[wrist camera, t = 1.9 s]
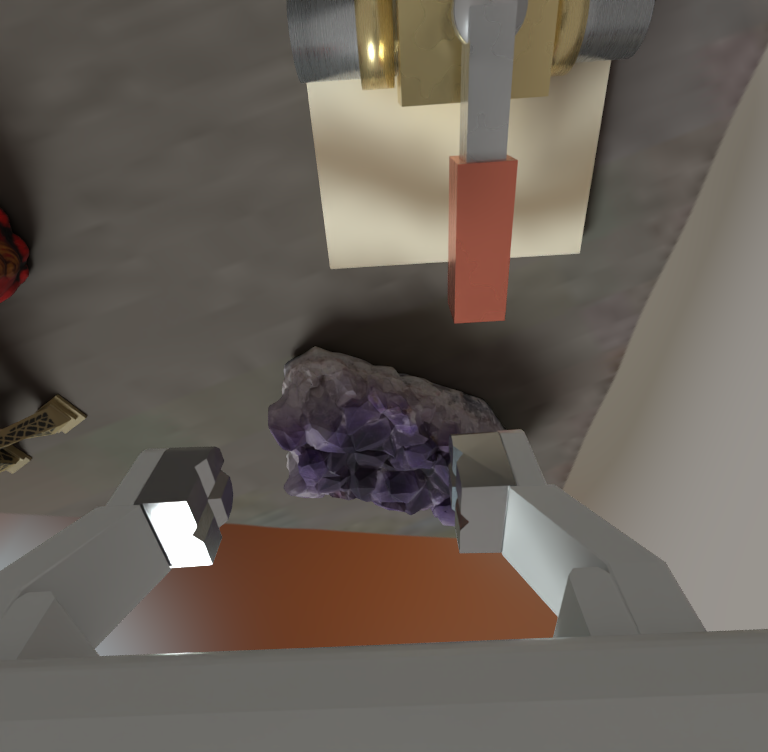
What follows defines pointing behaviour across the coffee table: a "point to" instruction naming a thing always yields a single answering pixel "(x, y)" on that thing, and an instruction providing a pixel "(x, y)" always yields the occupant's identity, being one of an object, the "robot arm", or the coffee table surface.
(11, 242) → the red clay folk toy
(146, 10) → the coffee table surface
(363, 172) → the base board
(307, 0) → the valve body
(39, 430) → the eiffel tower
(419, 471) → the geode
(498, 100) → the valve lever
